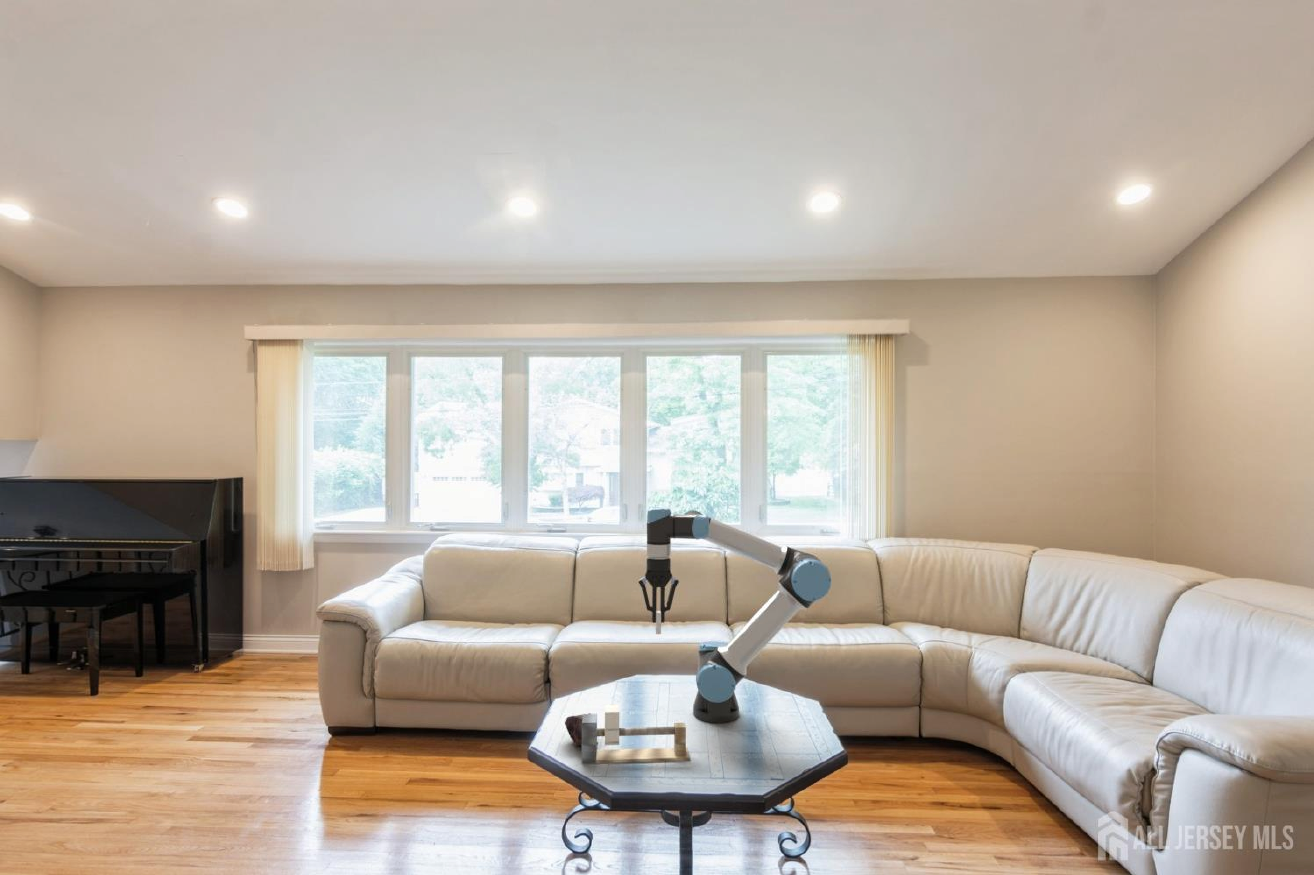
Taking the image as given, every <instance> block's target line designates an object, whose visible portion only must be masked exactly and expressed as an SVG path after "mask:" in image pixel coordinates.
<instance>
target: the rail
mask: <svg viewBox="0 0 1314 875" xmlns="http://www.w3.org/2000/svg"><path fill="white" fill-rule="evenodd" d="M582 715H583V718H582V746H581V764H582V763H583V764H611V763H614V764H615V763H618V764H619V763H642V762H643V763H645V762H646V763H647V762H650V763H651V762H653V763H654V762H680V761H681V762H682V761H691V756H690V753H689V748H688V747H687V726H686V723H685V722H674V724H673V726H651V727H650V726H648V727H645V726H643V727H619V737H625V736H626V737H627V736H629V737H630V736H663V735H664V736H669V735H670V736H671V735H674V736H673V738H674V739H673V747H660V748H659V747H655V748H623V749H622V748H620V749H614V748H613V749H598V745H597V742H598V737H605V727H604V728H598V713H591V714H588V713H583V714H582Z"/></svg>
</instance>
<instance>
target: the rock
mask: <svg viewBox="0 0 1314 875" xmlns="http://www.w3.org/2000/svg"><path fill="white" fill-rule="evenodd" d="M587 714H592V713H591V712H589V713H587ZM582 718H583V714H577V715H572V716H570V715H569V716H568V717H566V718H565V721H564V725H565V728H566V731H567V732H568V735H569V737H570V739H572V742H573V744H574V745H575V746H581V747H582ZM598 745H599V742H598V741H597V746H598Z"/></svg>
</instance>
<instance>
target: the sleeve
mask: <svg viewBox="0 0 1314 875" xmlns="http://www.w3.org/2000/svg"><path fill="white" fill-rule="evenodd" d="M604 728H605V736H604V746H619V745H620V736H619V728H620V705H619V704H612V705H611V704H607V705H606V704H605V706H604Z"/></svg>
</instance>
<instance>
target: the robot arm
mask: <svg viewBox="0 0 1314 875" xmlns="http://www.w3.org/2000/svg"><path fill="white" fill-rule="evenodd" d="M646 514H647V518H646V556H647V558H646V572H645V574H644V577H642V578H639V579H638V584H639V586H640V587H641V589H642V590H641V591H642V595H643V600H644V602H645V607H646V610H647V611H649V612H651V620H652V623H653V624H655V635H661V634H662V624H665V617H666V616H665V614H666V612H667V611H668V612H669V611H670V610H671V607H672V604H673V600H674V597H675V596H674V595H675V591H676V588H677V586H678V585H679V583H680V580H679V579H678V578H676V577H674V576H673V574H672V572H671V567H672V565H671V564H672V563H671V560H672V559H671V558H670V557H671V555H672V554H671V553H672V551H671V550H672V547H671V546H672V545H671V544H672V543H671V542H672V541H671V540H672V539H686V540H687V539H688V540H705V541H707V542H709V543H711V544H713V545H716V546H718V547H721V548H722V549H726V550H728V551H730V552H733V553H734V554H737V555H739V556H742V557H745V558H746V559H749V560H750V561H753V562H756V563H758V564H761V565H763V566H765V567H767V568H770V569H772V570H773V571H774V573H775V574H776V575H778V576H780V577H781V578H780V579H779V580H778V581H777V585H778V586H777V590H776V591H775V592H774V593H773V594H772V595H771V597H770V598H768V599H767V601H766V602H765V603H764V604H763V605H762V606H761V607H760V608H759V609H758V611H756V613H754V615H752V617H750V619H749V620H748V621H746V623H745V624H744V626H742V628H741V629H740V630H739V631H738V632H737V633H736V634H735V635H734V636H733V637H732V638H731V640H730V641H729V642H727V641H726V642H725V641H717V640H716V641H715V640H713V641H712V640H711V641H703V642H700V643H699V644H698V650H697V653H698V661H697V662H698V664H697V672H696V676H695V682H696V687H697V692H696V695H695V698H694V702H693V705H692V713H693V716H694V717H695V718H697V719H699V720H700V721H703V722H707V723H713V724H714V723H715V724H716V723H717V724H719V723H720V724H723V723H729V722H733V721H735V720H737V719H738V718H739V716H740V707H739V703H738V699H737V696H736V692H735V690H736V686H737V685H738V684H739V683H740V682H741V681H742V680H743V679H744V677H745V676H747V667H748V665H750V663H751V662H752V661H753V660H754V659H755V658H756V657H757V656H758V655H759V654H760V653H761V651H762V650H764V649H765V647H766V646H767V645H768V644H769V643H770V642H771V641H772V640H773V638H775V636H777V634H779V632H780V631H782V629H783V627H785V626H786V625H787V623H788V622H790V620H792V619H793V617H794V616H795V615H796V614H797V613H798V612H799V611H800V610H808V609H809V608H810V607H811V606H812V605H813V604H814V603H815V602H816V601H819V600H821V599H823V598H824V597H826V596H827V594H828V593H829V592H830V589H831V585H832V577H831V574H830V571H829V569H828V566H826V564H824V563H823V562H822V561H821V560H820V559H819V558H818V557H817V556H815V555H813V554H811V553H808V552H805V551H800V550H798V549H795V548H792V547H790V546H788V545H786V546H779V545H777V544H774V543H772V542H770V541H766V540H764V539H763V538H760V537H758V536H756V535H752V534H750V533H748V532H745V531H743V530H740V529H738V528H736V527H733V526H732V525H728V524H727V523H724V522H722V521H719V520H717V519H715V518H711V517H709V516H708V515H706V514H702V512H700V511H697V510H693V509H692V510H688V511H687V512H685V513H684V514H674V513H672V510H671V508H670V507H650V508H649V509H648V510H647V512H646ZM647 582H648V584H649V585H650V586H651V590H652V591H651V594H652V595H651V604H650V600H649V596H648V591H647V587H646V585H647ZM669 582H670V584H671V585H670V587H669V588H670V589H669V593H668V597H667V601H666V600H665V599H666V598H665V597H666V587H667V585H668V584H669ZM657 588H659V589H660V590H659V592H660V598H659V599H660V600H659V602H660V603H659V604H660V608H659V610H657V603H658V602H657V599H658V598H657V593H658V592H657ZM665 602H666V603H665Z"/></svg>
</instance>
